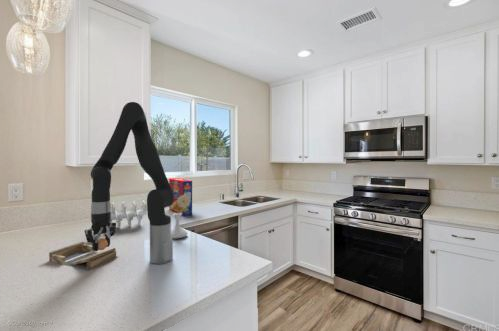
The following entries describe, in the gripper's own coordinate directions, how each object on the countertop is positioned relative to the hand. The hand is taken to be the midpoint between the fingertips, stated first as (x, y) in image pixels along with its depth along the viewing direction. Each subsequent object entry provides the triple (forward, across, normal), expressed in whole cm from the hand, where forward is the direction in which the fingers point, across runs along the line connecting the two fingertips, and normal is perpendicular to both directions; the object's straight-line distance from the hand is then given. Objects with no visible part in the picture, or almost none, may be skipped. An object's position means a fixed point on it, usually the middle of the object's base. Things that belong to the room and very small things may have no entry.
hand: (101, 248), depth 110 cm
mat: (+7, 0, -10) cm, 12 cm away
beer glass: (+7, -24, -30) cm, 39 cm away
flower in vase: (+7, -42, +10) cm, 44 cm away
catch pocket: (+6, +1, -18) cm, 19 cm away
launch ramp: (+6, 0, -5) cm, 8 cm away
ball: (-2, 0, 0) cm, 2 cm away
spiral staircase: (+7, -44, -34) cm, 56 cm away
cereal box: (+7, -95, -29) cm, 99 cm away
